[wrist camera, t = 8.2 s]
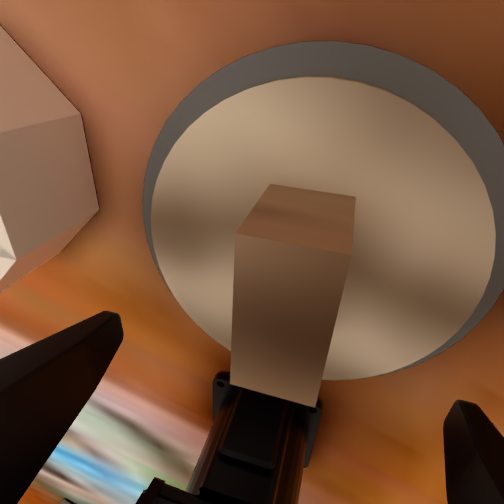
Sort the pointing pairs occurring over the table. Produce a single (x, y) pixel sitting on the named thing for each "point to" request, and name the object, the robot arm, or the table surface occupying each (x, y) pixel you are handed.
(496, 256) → the mat
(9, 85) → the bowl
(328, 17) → the table surface
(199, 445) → the table surface
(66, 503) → the skincare box
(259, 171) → the lid
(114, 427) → the table surface
